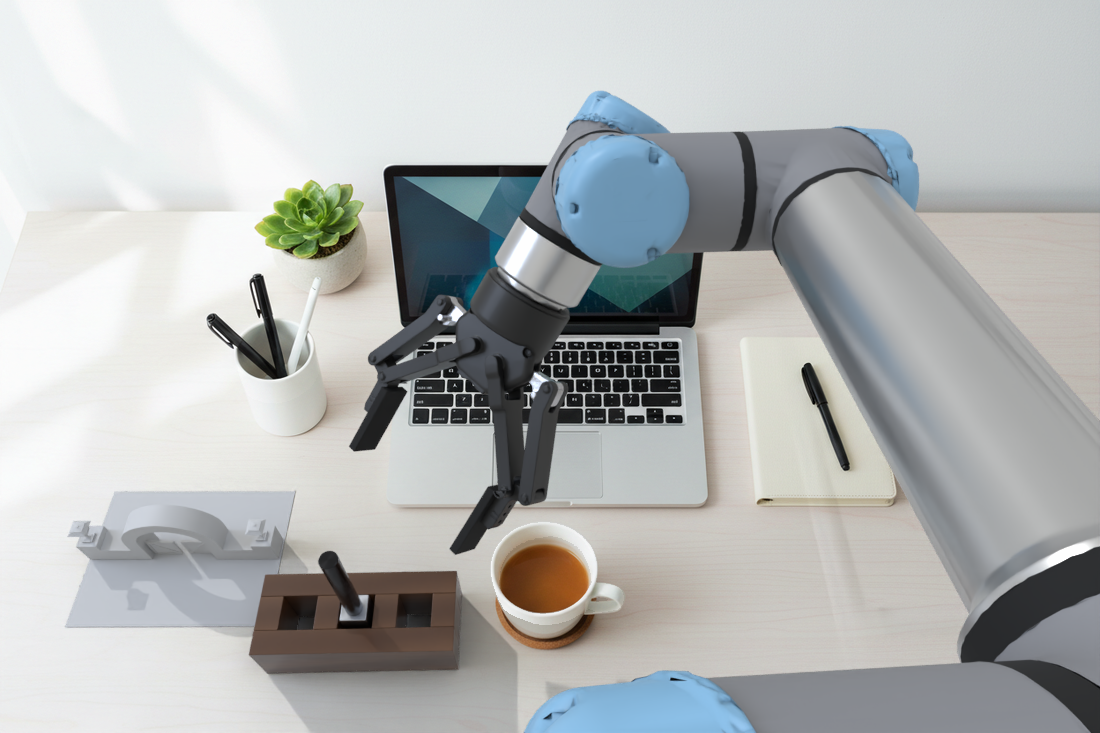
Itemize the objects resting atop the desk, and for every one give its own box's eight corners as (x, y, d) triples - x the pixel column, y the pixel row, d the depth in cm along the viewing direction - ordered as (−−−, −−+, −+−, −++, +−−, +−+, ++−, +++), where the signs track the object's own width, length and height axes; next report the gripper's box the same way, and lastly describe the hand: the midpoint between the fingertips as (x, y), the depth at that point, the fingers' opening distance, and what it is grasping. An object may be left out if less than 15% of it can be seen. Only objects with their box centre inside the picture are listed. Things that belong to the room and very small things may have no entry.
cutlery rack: (458, 669, 75) (453, 650, 71) (267, 674, 75) (248, 655, 70) (462, 593, 80) (457, 570, 75) (281, 596, 80) (264, 574, 75)
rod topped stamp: (378, 644, 77) (340, 573, 62) (354, 644, 77) (310, 574, 62) (381, 620, 78) (344, 545, 64) (357, 620, 78) (315, 546, 64)
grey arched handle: (90, 559, 82) (52, 526, 75) (98, 539, 83) (61, 504, 77) (278, 559, 82) (256, 525, 75) (283, 538, 83) (261, 504, 77)
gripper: (671, 379, 60) (533, 586, 65) (457, 219, 70) (353, 409, 76) (632, 377, 53) (482, 608, 59) (402, 201, 64) (293, 411, 69)
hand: (409, 496), depth 67 cm, fingers open, 13 cm apart
